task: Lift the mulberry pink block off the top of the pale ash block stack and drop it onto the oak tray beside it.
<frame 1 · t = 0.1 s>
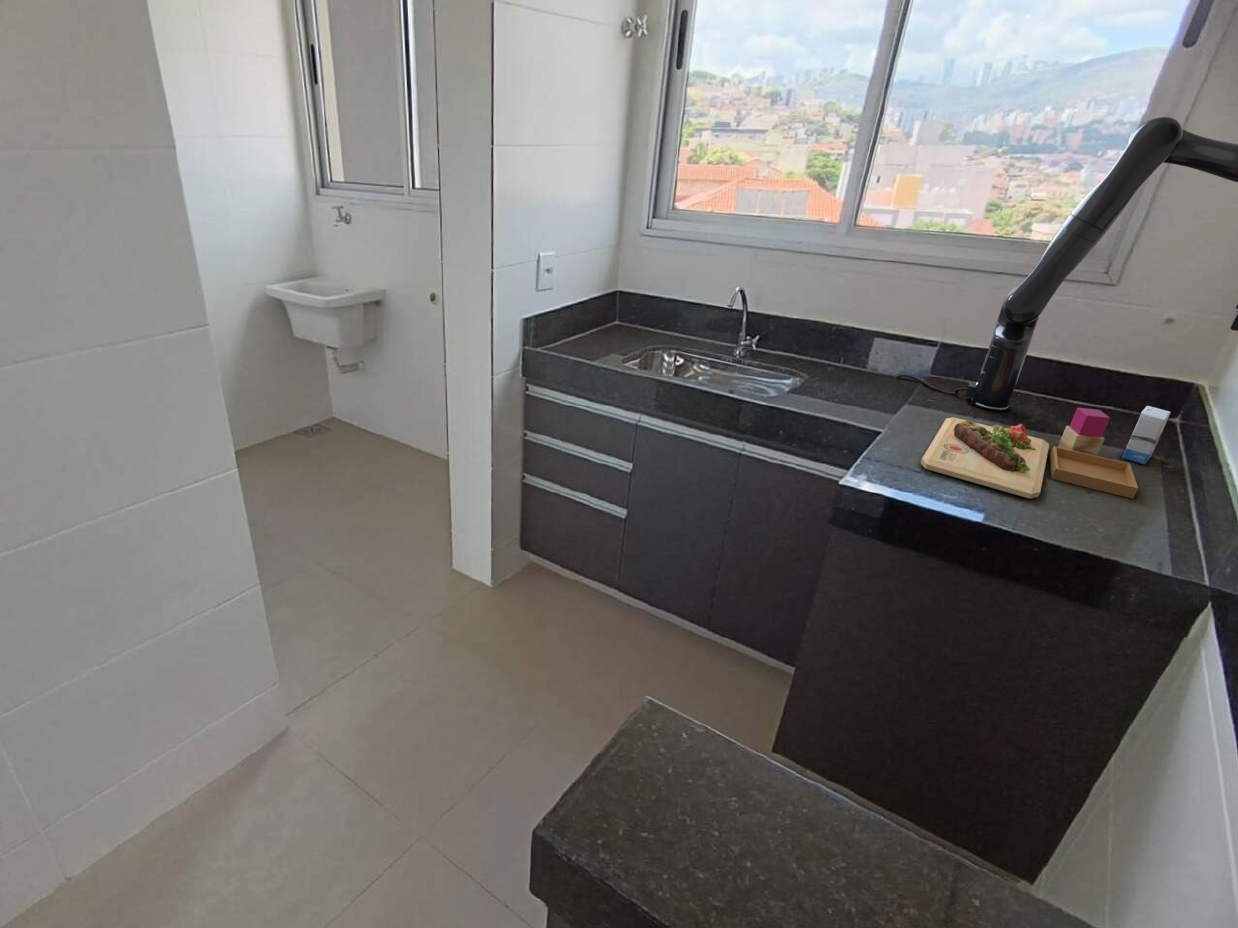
tray: (1089, 476, 148), on the countertop
cutting board: (985, 458, 154), on the countertop
base block: (1075, 454, 158), on the countertop, touching pink block
pink block: (1085, 432, 156), point 6 cm above the countertop, touching base block
ink box: (1135, 457, 159), on the countertop
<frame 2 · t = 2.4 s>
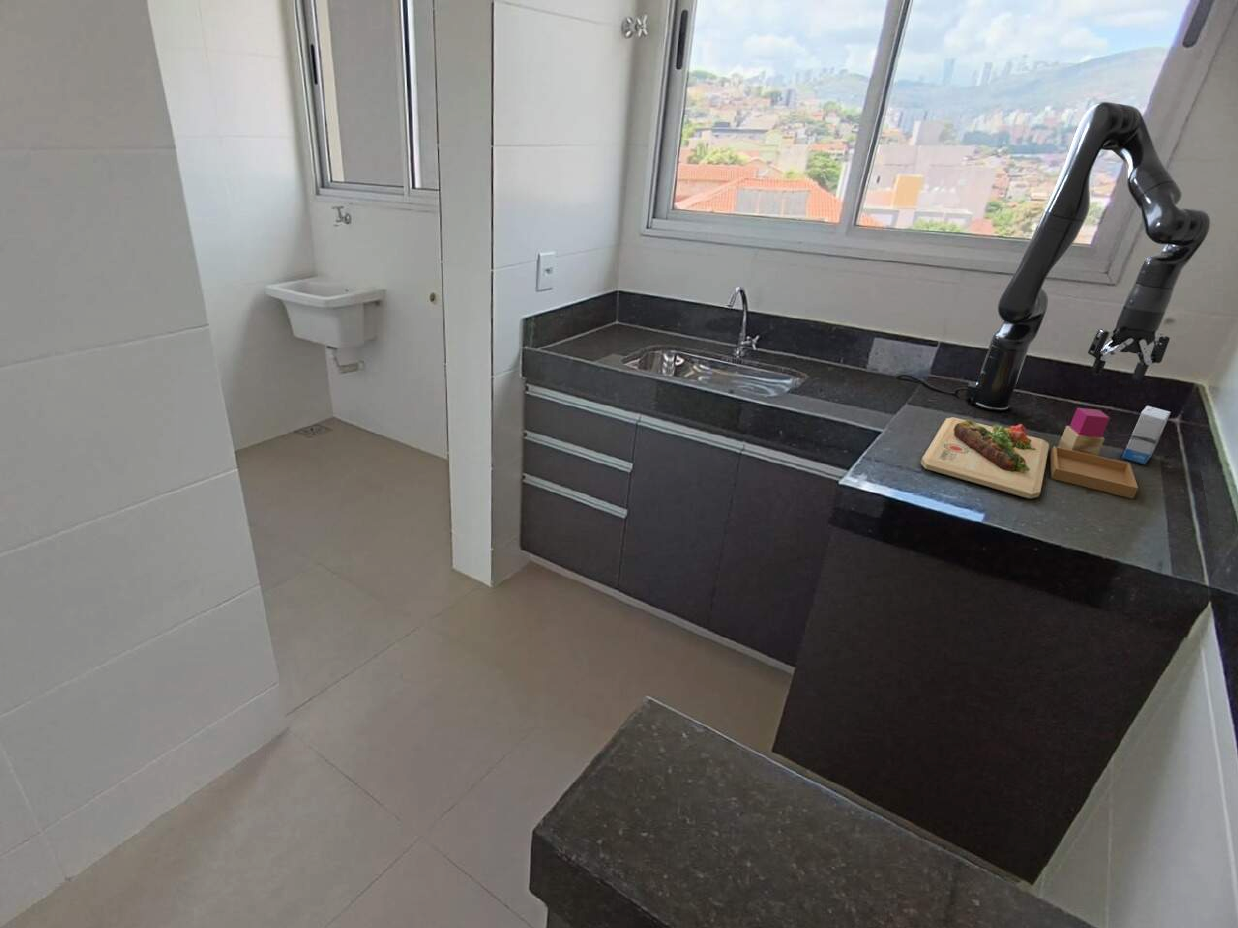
hand: (1115, 377, 150), 20 cm above the countertop, tool pointing down, fingers open, 8 cm apart
nothing on the countertop moved.
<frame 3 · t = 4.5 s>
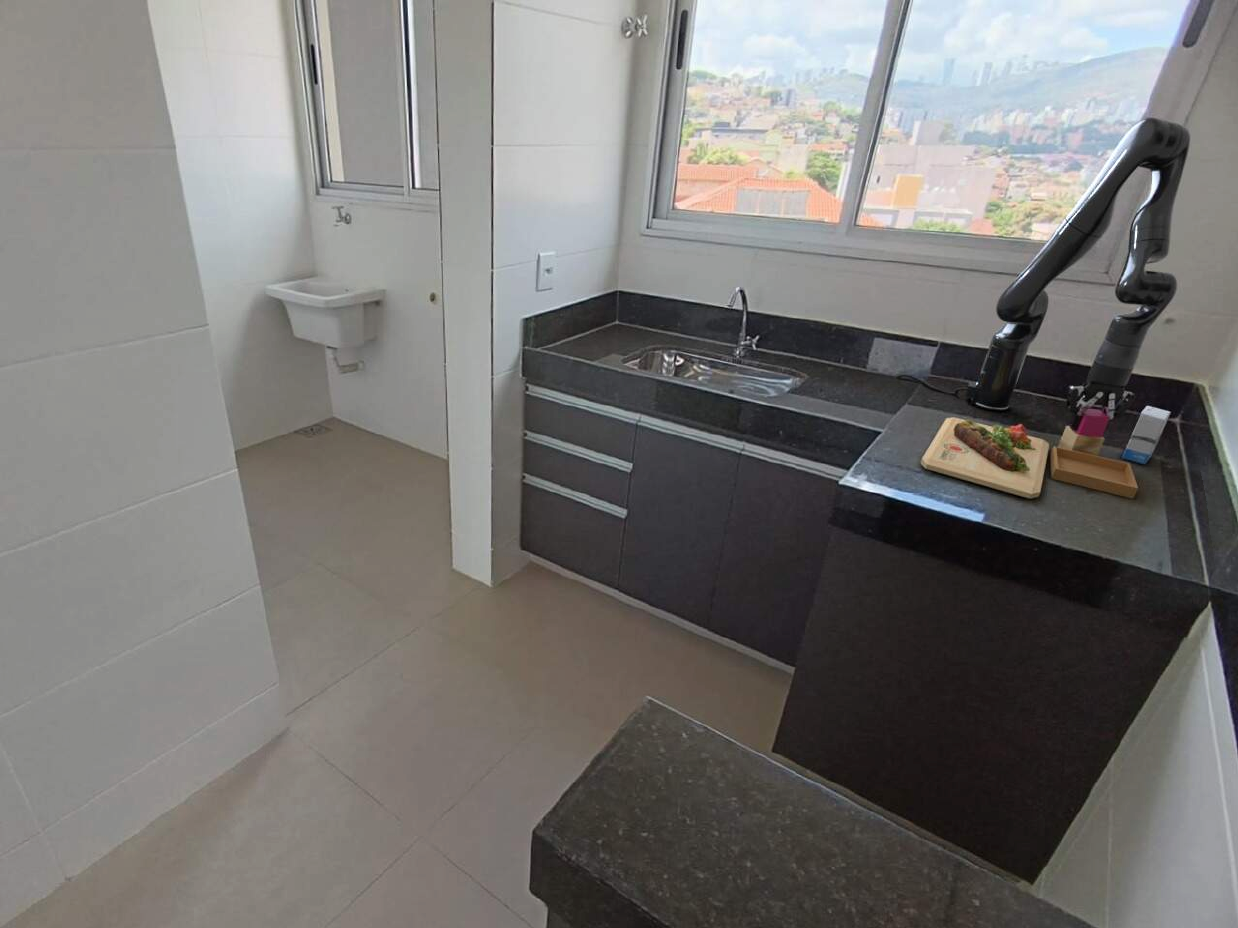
hand: (1085, 430, 155), 6 cm above the countertop, tool pointing down, fingers closed on pink block, 5 cm apart
pink block: (1085, 432, 156), point 6 cm above the countertop, touching base block, gripper
everything else where it was.
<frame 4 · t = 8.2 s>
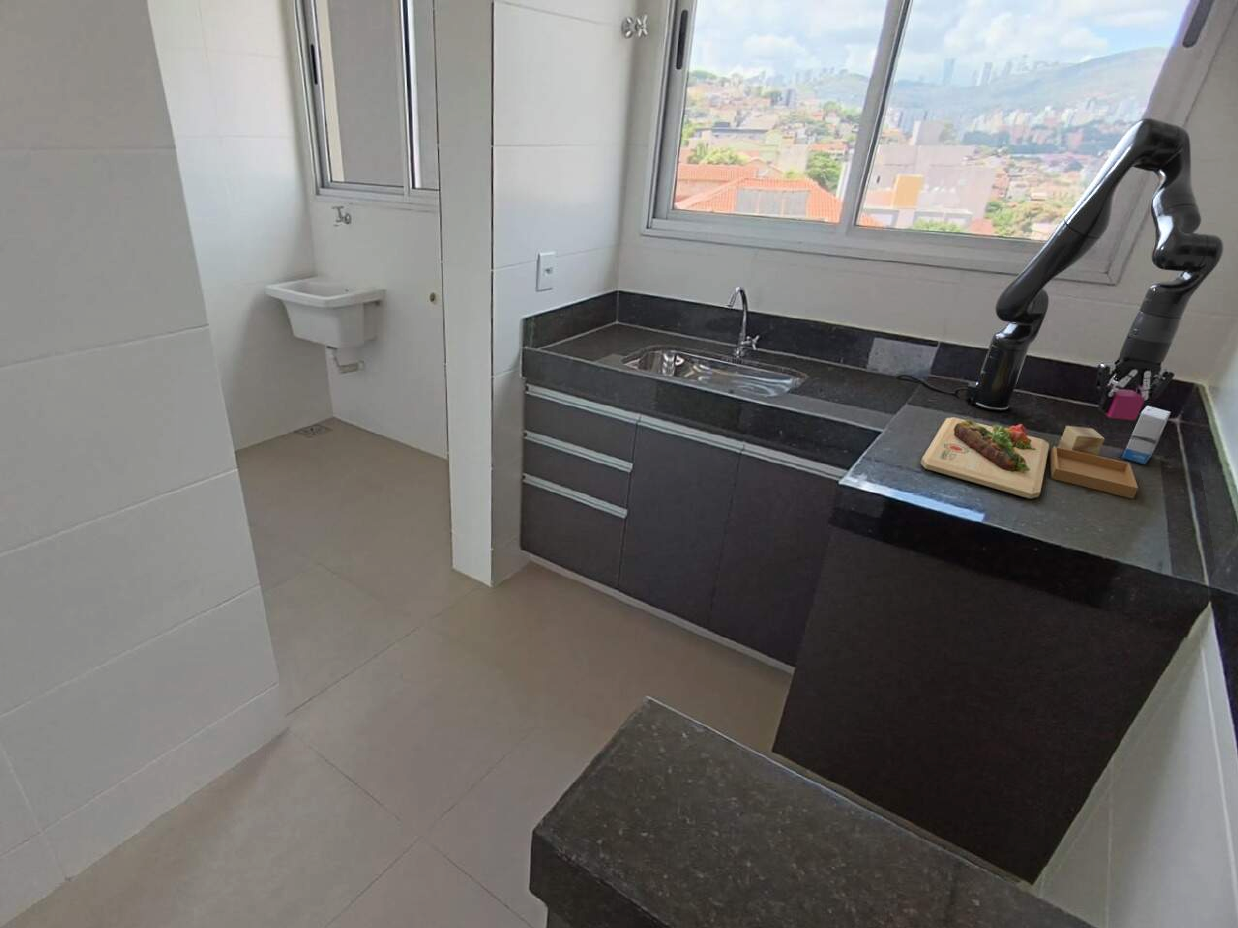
hand: (1117, 413, 141), 15 cm above the countertop, tool pointing down, fingers closed on pink block, 5 cm apart
base block: (1075, 454, 158), on the countertop
pink block: (1116, 414, 141), point 15 cm above the countertop, touching gripper
everything else where it was.
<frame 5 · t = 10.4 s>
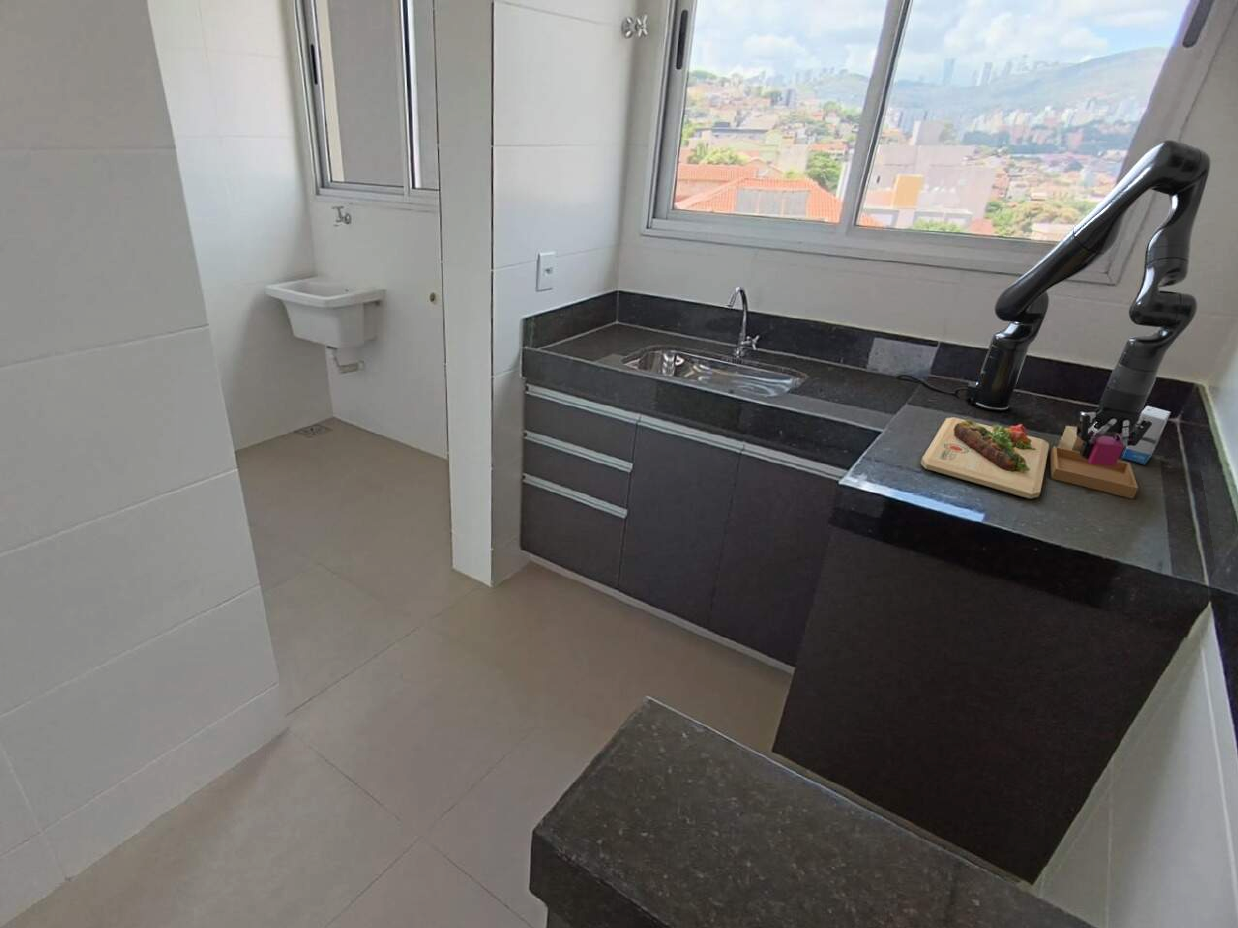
hand: (1097, 458, 146), 4 cm above the countertop, tool pointing down, fingers closed on pink block, 5 cm apart
pink block: (1097, 460, 146), point 4 cm above the countertop, touching gripper
everything else where it was.
when the fingers open (1 cm above the countertop, at t = 11.9 s): pink block stays where it is, resting on tray.
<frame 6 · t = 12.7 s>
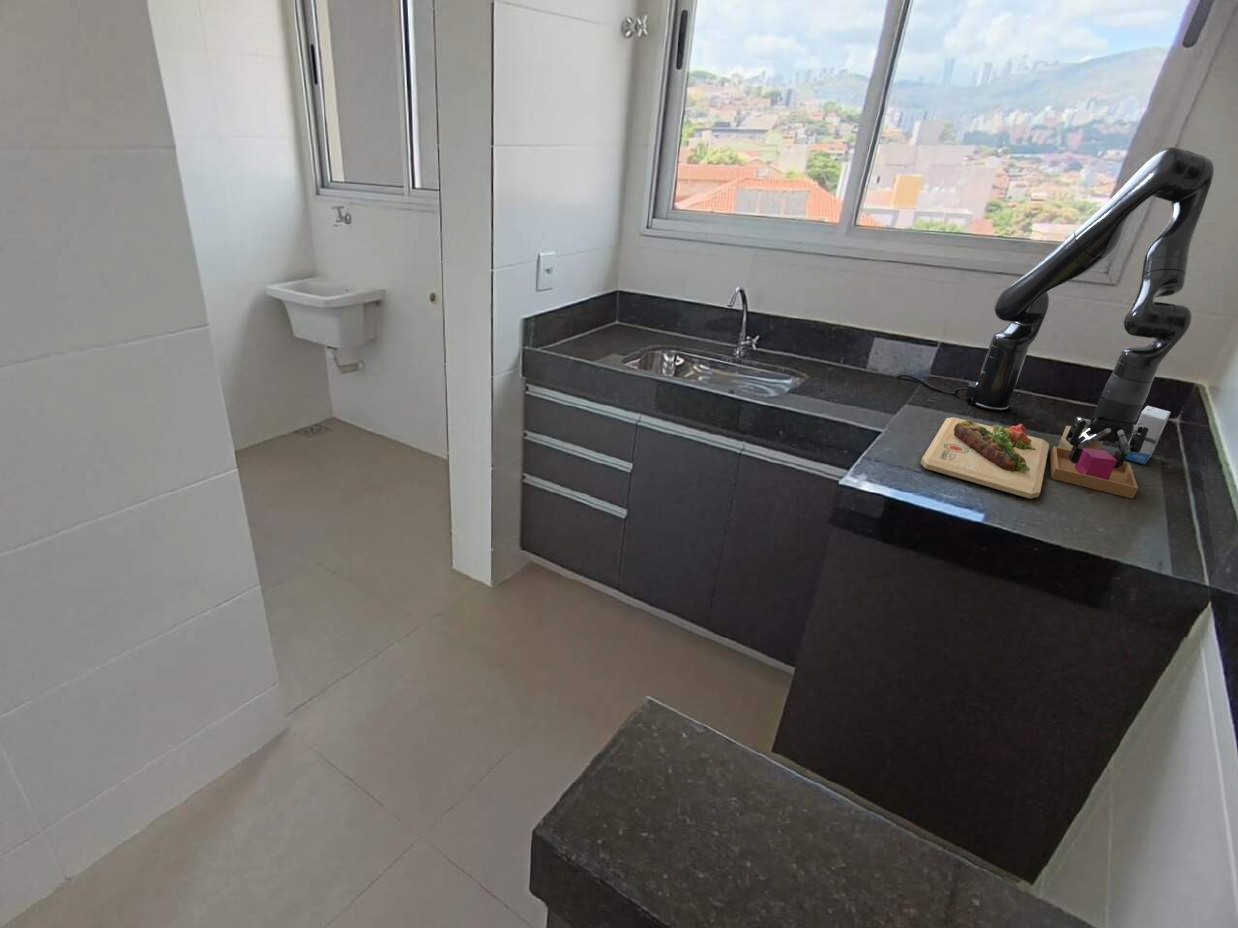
hand: (1093, 464, 147), 3 cm above the countertop, tool pointing down, fingers open, 8 cm apart
pink block: (1090, 473, 148), point 1 cm above the countertop, touching tray
everything else where it was.
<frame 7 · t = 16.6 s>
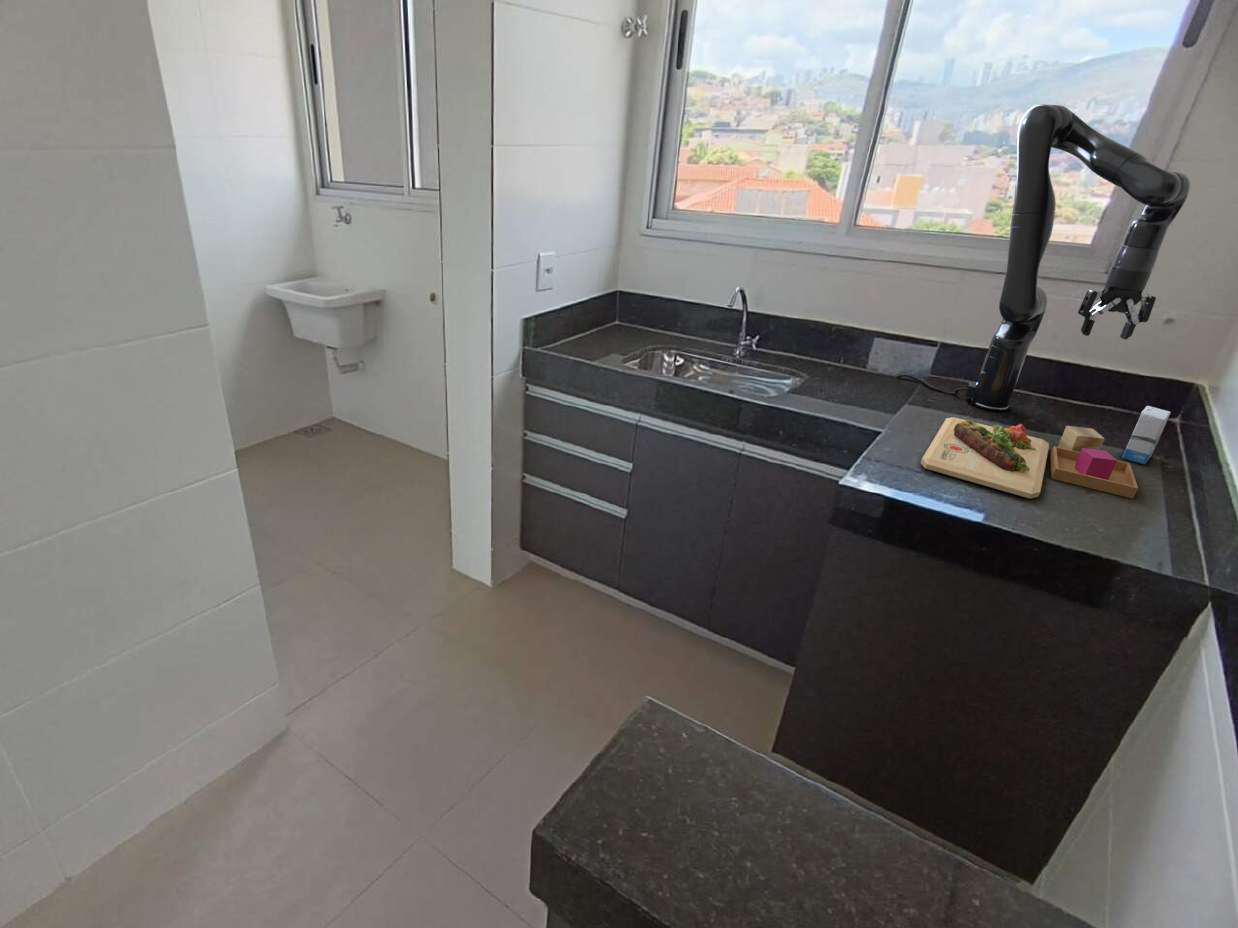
hand: (1104, 336, 157), 26 cm above the countertop, tool pointing down, fingers open, 8 cm apart
nothing on the countertop moved.
at the end: pink block inside the target area in the tray (0.1 cm from its centre), point 0.6 cm above the tray's base; pink block touching tray; base block moved 0.0 cm from its start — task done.
